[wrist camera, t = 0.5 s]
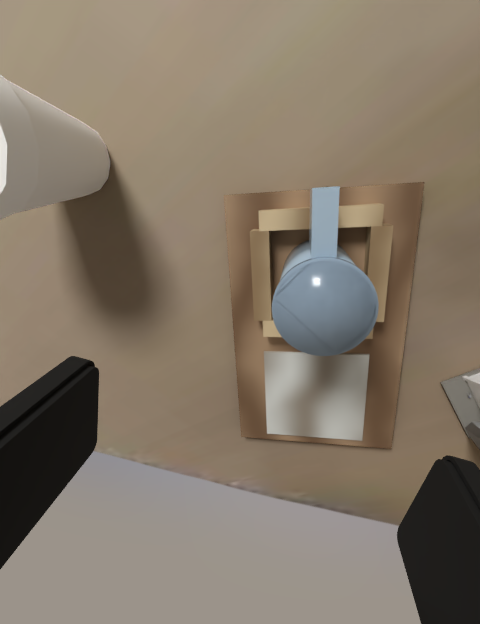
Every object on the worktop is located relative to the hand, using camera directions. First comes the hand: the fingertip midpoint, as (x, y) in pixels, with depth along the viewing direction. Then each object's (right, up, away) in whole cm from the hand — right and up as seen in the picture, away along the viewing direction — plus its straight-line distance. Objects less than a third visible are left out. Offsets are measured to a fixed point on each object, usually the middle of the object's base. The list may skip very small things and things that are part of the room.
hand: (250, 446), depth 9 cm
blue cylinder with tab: (+7, +9, +19) cm, 22 cm away
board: (+7, +2, +23) cm, 24 cm away
